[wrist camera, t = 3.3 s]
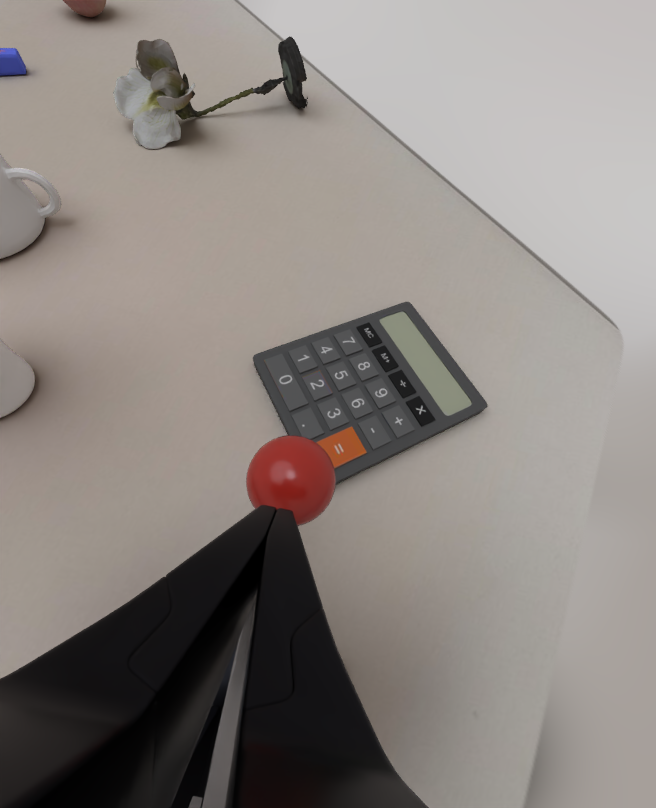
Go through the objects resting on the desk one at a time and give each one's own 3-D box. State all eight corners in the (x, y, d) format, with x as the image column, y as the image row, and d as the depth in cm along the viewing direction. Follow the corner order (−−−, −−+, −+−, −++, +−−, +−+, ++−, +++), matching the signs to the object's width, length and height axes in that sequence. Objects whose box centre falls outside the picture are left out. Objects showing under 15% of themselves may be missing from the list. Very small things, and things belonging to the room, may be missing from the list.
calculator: (251, 354, 26) (409, 299, 30) (252, 361, 27) (406, 306, 31) (317, 490, 22) (490, 405, 26) (316, 493, 23) (484, 410, 27)
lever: (264, 432, 14) (251, 421, 11) (339, 448, 14) (347, 440, 11) (157, 881, 11) (95, 1041, 8) (253, 900, 11) (229, 1068, 8)
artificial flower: (317, 133, 46) (324, 44, 36) (151, 182, 42) (109, 98, 32) (290, 79, 47) (289, -22, 37) (126, 123, 43) (77, 23, 33)
